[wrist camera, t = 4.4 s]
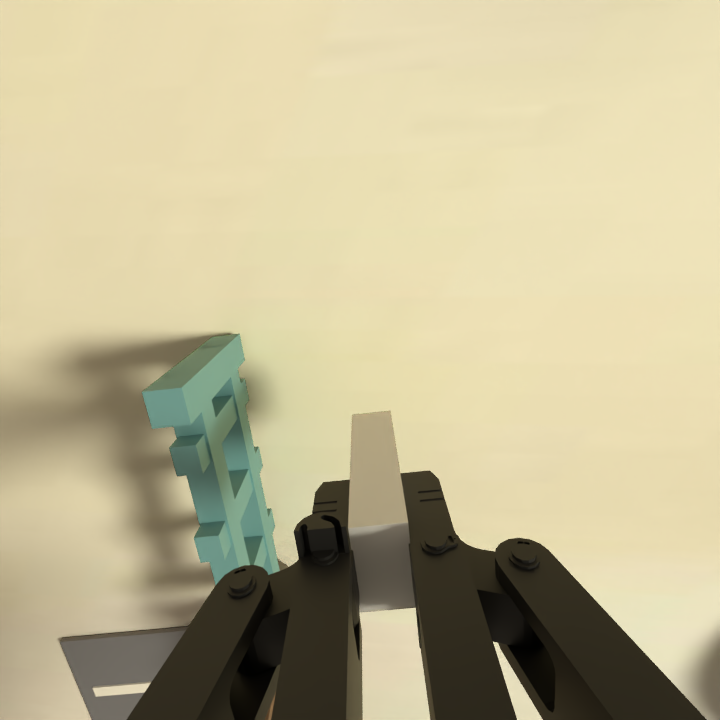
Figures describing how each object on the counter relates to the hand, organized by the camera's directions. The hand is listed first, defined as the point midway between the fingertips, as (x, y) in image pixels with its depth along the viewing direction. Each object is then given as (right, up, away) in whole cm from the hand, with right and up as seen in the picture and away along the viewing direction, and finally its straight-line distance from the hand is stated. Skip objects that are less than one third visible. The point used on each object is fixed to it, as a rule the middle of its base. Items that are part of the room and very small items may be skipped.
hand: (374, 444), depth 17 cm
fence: (-6, -3, +7) cm, 10 cm away
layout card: (-14, -20, +13) cm, 28 cm away
